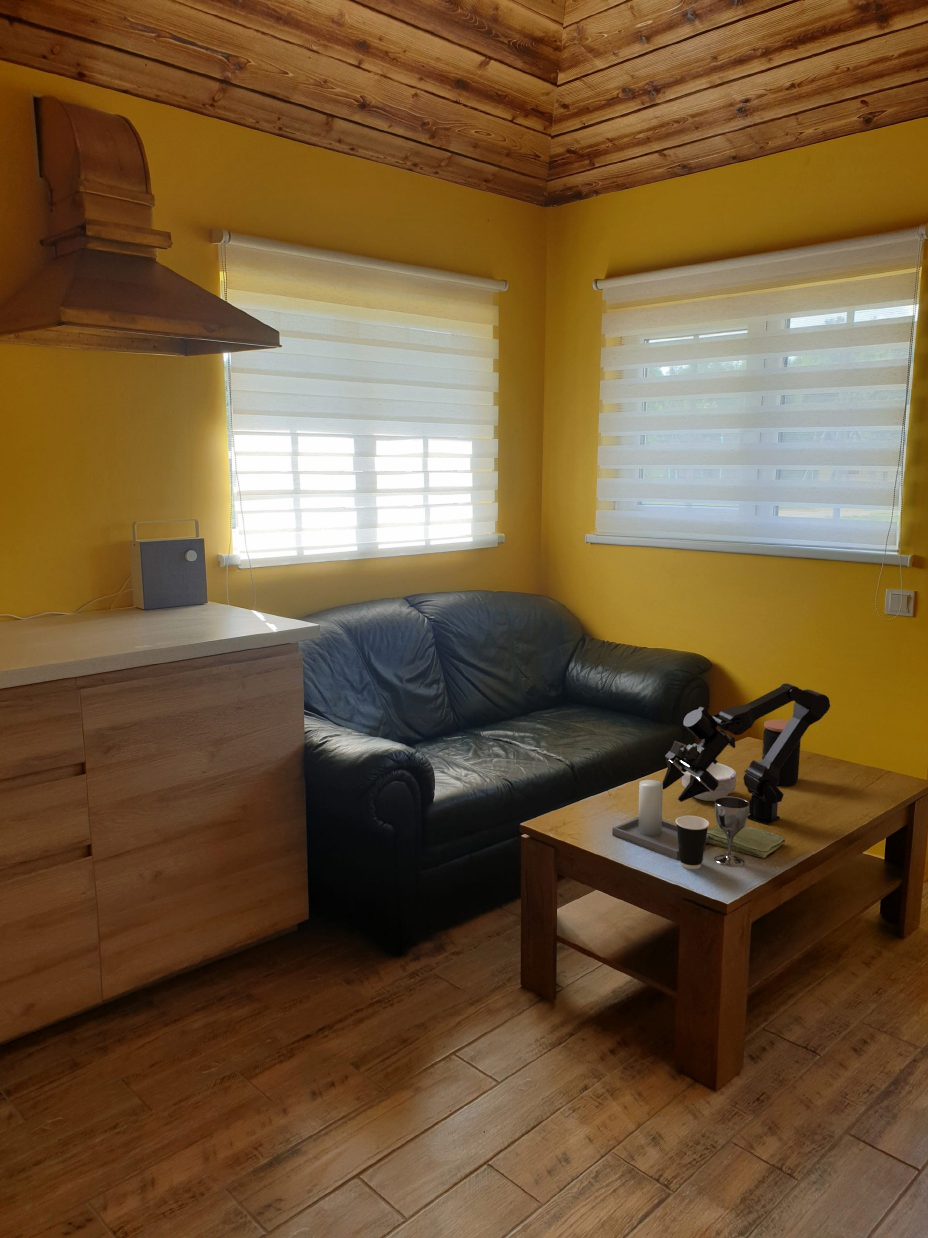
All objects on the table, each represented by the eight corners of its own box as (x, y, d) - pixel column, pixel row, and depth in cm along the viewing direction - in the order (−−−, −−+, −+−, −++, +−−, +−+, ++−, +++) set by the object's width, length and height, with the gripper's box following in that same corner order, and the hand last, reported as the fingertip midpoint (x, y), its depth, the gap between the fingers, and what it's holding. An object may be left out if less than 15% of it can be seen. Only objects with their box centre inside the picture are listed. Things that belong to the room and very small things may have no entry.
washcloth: (766, 862, 226) (767, 850, 225) (699, 843, 237) (700, 831, 236) (786, 845, 235) (787, 833, 235) (721, 827, 247) (722, 816, 246)
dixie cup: (666, 862, 225) (668, 819, 223) (691, 855, 229) (693, 813, 227) (689, 874, 218) (691, 830, 216) (714, 867, 222) (716, 824, 220)
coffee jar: (767, 773, 288) (770, 717, 284) (802, 780, 281) (805, 723, 278) (755, 783, 279) (759, 725, 276) (791, 790, 273) (795, 731, 270)
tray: (708, 843, 236) (709, 836, 235) (676, 859, 226) (677, 851, 226) (644, 820, 250) (645, 814, 250) (612, 835, 241) (612, 827, 241)
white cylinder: (663, 829, 243) (665, 781, 241) (658, 837, 238) (660, 789, 236) (641, 825, 246) (642, 778, 244) (635, 833, 240) (636, 786, 238)
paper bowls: (727, 809, 259) (729, 782, 257) (674, 799, 266) (675, 773, 265) (740, 792, 272) (742, 766, 270) (689, 783, 279) (691, 758, 278)
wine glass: (747, 868, 221) (750, 809, 219) (713, 866, 223) (716, 807, 220) (744, 855, 229) (747, 797, 226) (711, 852, 230) (714, 795, 228)
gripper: (672, 721, 249) (634, 765, 248) (709, 741, 231) (668, 788, 230) (697, 746, 253) (660, 789, 252) (735, 767, 235) (696, 814, 234)
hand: (670, 794), depth 242 cm, fingers open, 9 cm apart
